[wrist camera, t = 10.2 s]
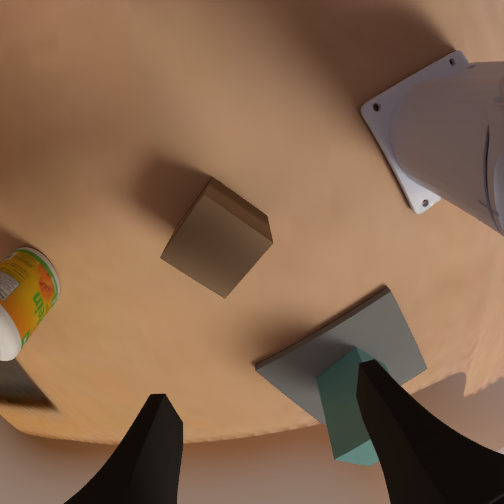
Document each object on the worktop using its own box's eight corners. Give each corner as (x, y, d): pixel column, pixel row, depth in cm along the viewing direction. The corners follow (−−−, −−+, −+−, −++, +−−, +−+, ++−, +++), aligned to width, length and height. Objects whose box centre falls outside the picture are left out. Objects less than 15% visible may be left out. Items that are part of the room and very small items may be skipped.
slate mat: (387, 286, 21) (390, 291, 20) (425, 364, 25) (427, 368, 25) (255, 365, 24) (255, 370, 23) (322, 420, 28) (323, 424, 28)
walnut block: (212, 176, 17) (203, 194, 14) (267, 215, 18) (273, 242, 15) (175, 228, 19) (159, 258, 15) (227, 263, 20) (224, 298, 16)
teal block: (355, 346, 22) (387, 428, 15) (385, 365, 24) (417, 437, 17) (315, 378, 24) (334, 459, 17) (348, 393, 25) (369, 465, 18)
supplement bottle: (60, 313, 21) (5, 400, 13) (12, 288, 20) (-49, 361, 11) (64, 260, 19) (-11, 348, 10) (11, 235, 18) (-69, 304, 9)
